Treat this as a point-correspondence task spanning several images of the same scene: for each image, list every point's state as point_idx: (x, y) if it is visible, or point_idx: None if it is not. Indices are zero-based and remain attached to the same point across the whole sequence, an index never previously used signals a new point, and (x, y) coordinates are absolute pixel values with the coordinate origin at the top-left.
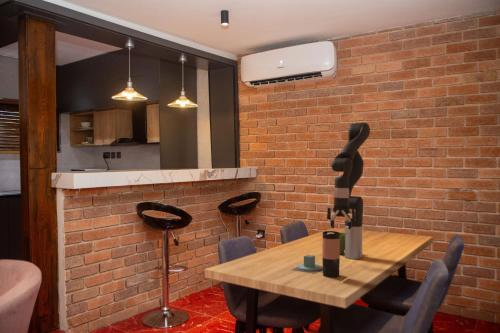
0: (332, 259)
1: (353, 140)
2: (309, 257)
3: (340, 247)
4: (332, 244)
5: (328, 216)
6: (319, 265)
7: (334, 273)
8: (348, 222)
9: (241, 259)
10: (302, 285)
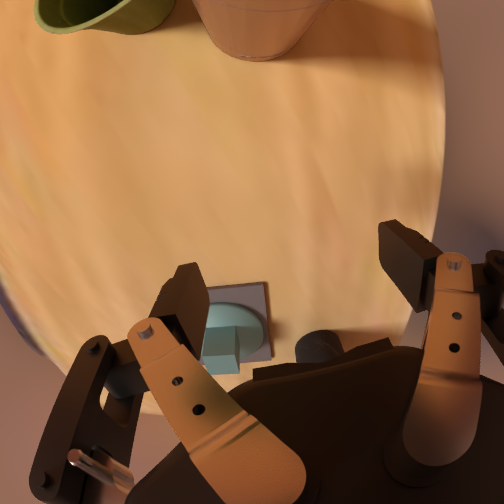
0: None
1: None
2: (231, 372)
3: (159, 8)
4: None
5: (127, 412)
6: (243, 312)
7: None
8: (415, 308)
9: (35, 330)
10: None
